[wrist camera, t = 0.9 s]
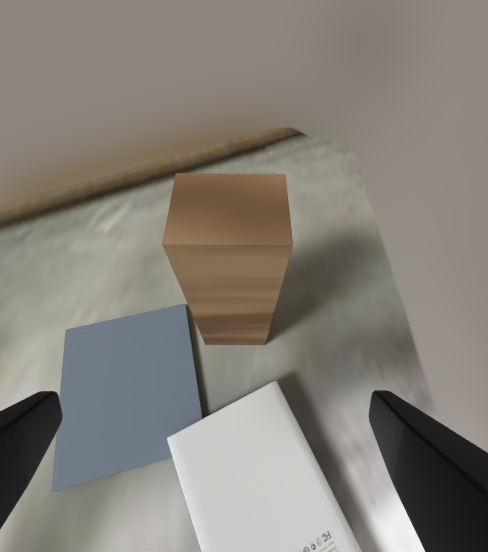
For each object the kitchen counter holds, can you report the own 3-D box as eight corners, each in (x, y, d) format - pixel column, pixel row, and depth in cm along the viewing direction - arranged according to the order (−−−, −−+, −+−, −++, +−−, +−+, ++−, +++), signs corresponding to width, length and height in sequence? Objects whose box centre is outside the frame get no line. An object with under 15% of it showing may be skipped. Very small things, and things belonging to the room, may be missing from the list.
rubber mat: (207, 446, 19) (206, 447, 18) (56, 490, 18) (51, 491, 17) (186, 306, 24) (185, 303, 24) (69, 331, 23) (65, 329, 22)
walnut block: (265, 344, 22) (293, 244, 10) (205, 344, 22) (162, 244, 10) (263, 301, 24) (285, 174, 12) (208, 300, 24) (175, 173, 12)
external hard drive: (273, 381, 20) (377, 588, 15) (170, 436, 19) (250, 691, 14) (276, 379, 19) (391, 606, 14) (165, 438, 17) (252, 724, 12)
